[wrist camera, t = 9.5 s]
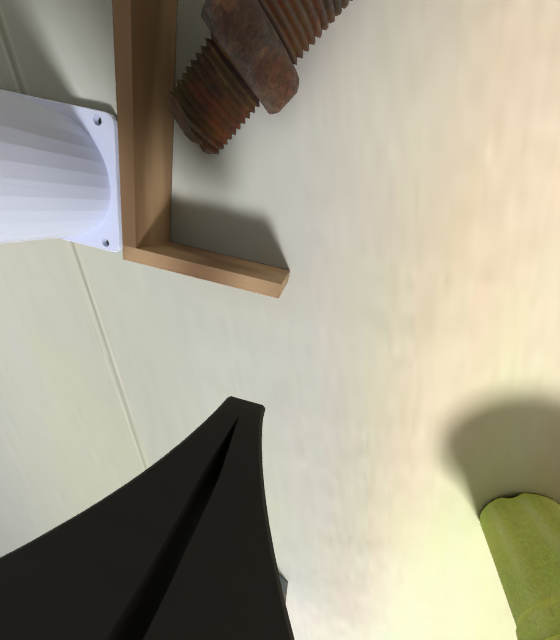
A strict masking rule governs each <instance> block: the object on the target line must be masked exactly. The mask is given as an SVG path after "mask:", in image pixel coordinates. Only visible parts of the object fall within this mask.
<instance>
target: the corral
mask: <svg viewBox="0 0 560 640" xmlns="http://www.w3.org/2000/svg"><path fill="white" fill-rule="evenodd" d="M112 5H113V29H114V53H115V77H116V101H117V125H118V149H119V172H120V196H121V220H122V244H123V259H124V260H128V261H132V262H136V263H140V264H144V265H148V266H152V267H156V268H160V269H164V270H168V271H172V272H176V273H180V274H184V275H188V276H192V277H196V278H200V279H204V280H208V281H212V282H216V283H220V284H224V285H228V286H232V287H236V288H240V289H244V290H248V291H251V292H255V293H259V294H263V295H267V296H271V297H275V298H279V297H280V295H281V293H282V291H283V289H284V288H285V286H286V284H287V282H288V277H289V273H290V271H289V270H285V269H281V268H276V267H272V266H268V265H264V264H260V263H256V262H252V261H248V260H244V259H240V258H235V257H231V256H227V255H223V254H219V253H215V252H211V251H207V250H203V249H198V248H194V247H190V246H186V245H182V244H178V243H174V242H170V221H171V188H172V155H173V122H174V116H173V114H172V113H171V111H170V109H169V107H168V99H170V94H169V91H171V92H174V90H173V86H175V57H176V24H177V0H112Z"/></svg>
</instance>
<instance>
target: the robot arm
mask: <svg viewBox="0 0 560 640" xmlns="http://www.w3.org/2000/svg"><path fill="white" fill-rule="evenodd" d="M100 117H101V120H102V123H101V125H100V124H99V118H100ZM50 238H60V239H64V240H68V241H72V242H76V243H80V244H84V245H88V246H92V247H96V248H100V249H104V250H108V251H112V252H118V251H121V250H122V248H123V244H122V220H121V196H120V172H119V149H118V125H117V120H116V118H115V117H114V116H113V115H112V114H110V113H107V112H105V111H100V110H95V109H91V108H86V107H81V106H77V105H72V104H67V103H62V102H58V101H53V100H48V99H43V98H39V97H34V96H29V95H24V94H20V93H15V92H10V91H6V90H1V89H0V244H1V243H11V242H21V241H30V240H40V239H50ZM107 240H108V241H109V245H108V244H107ZM264 412H265V407H264V406H263V405H260V404H257V403H253V402H250V401H246V400H242V399H239V398H235V397H232V396H230V397H228V398H227V399H226V400H225V401H224V402H223V403H222V405H221V406H220V407H219V408H218V409H217V410H216V411H215V412H214V413H213V414H212V415H211V416H210V417H209V418H208V419H207V420H206V421H205V422H204V423H202V424H201V425H200V426H199V427H198V428H197V429H196V430H195V431H194V432H193V433H191V434H190V435H189V436H188V437H187V438H186V439H185V440H183V441H182V442H181V443H180V444H179V445H177V446H176V447H175V448H174V449H172V450H171V451H170V452H169V453H168V454H166V455H165V456H164V457H163V458H161V459H160V460H159V461H157V462H156V463H155V464H153V465H152V466H151V467H149V468H148V469H147V470H145V471H144V472H142V473H141V474H140V475H138V476H137V477H135V478H134V479H133V480H131V481H130V482H128V483H127V484H125V485H124V486H122V487H121V488H119V489H118V490H116V491H115V492H113V493H112V494H110V495H109V496H107V497H105V498H104V499H102V500H101V501H99V502H98V503H96V504H94V505H93V506H91V507H90V508H88V509H86V510H85V511H83V512H81V513H80V514H78V515H76V516H74V517H73V518H71V519H69V520H68V521H66V522H64V523H62V524H61V525H59V526H57V527H55V528H54V529H52V530H50V531H49V532H47V533H45V534H43V535H42V536H40V537H38V538H36V539H35V540H33V541H31V542H29V543H27V544H25V545H24V546H22V547H20V548H18V549H16V550H14V551H12V552H10V553H8V554H6V555H5V556H3V557H1V558H0V640H294V636H293V632H292V628H291V624H290V620H289V616H288V612H287V608H286V604H285V599H284V595H283V590H282V586H281V581H280V577H279V572H278V568H277V563H276V558H275V554H274V548H273V543H272V537H271V532H270V526H269V519H268V513H267V506H266V498H265V490H264V479H263V467H262V423H263V416H264Z"/></svg>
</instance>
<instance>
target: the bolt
mask: <svg viewBox="0 0 560 640" xmlns="http://www.w3.org/2000/svg"><path fill="white" fill-rule="evenodd" d="M351 1H353V0H351ZM348 4H349V0H207V1H206V3H205V5H204V7H203V9H202V13H201V16H202V18H203V20H204V21H205V23H206V24H207V26H208V27H209V29H210V30H211V36H212V39H206V44H207V47H206V46H201V50H202V54H201V53H196V57H197V60H191V63H192V67H186V69H187V72H188V74H184V73H182V78H183V80H178V79H177V82H178V86H179V87H178V86H173V90H174V92H171V91H169V94H170V99H168V107H169V109H170V111H171V113H172V114H173V116H174V118H175V119H176V121H177V123H178V124H179V126H180V127H181V129H182V130H183V132H184V134H185V135H186V136H187V137H188V138H189V139H190V140H191V141H193V142H195V143H197V144H199V145H200V147H201V148H202V150H203V151H204V152H206V153H208V154H210V153H213V154H219V149H223V148H224V146H223V144H226V145H227V139H229V140H230V139H232V134H235V135H236V128H237V129H240V123H243V124H245V117H246V118H249V119H250V112H253V113H255V106H257V107H259V100H260V102H261V103H262V105H263V106H264V107H265V109H266V110H267V111H268V113H269V114H274V113H278V112H279V111H280V110H281V109H282V108H283V107H284V106H285V105H286V104H287V103H288V102H289V101H290V99H291V98H292V97H293V96H294V95H295V94H296V93H297V90H298V85H299V77H298V75H297V72H296V70H295V68H294V65H293V64H296V65H297V57H300V58H303V50H304V51H309V44H312V45H314V44H315V36H316V37H319V38H320V37H321V35H322V29H323V30H327V28H328V22H329V23H332V22H334V21H335V16H338V15H340V14H341V12H342V8H344V9H345V8H346V7H347V6H348Z"/></svg>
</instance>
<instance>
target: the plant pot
mask: <svg viewBox="0 0 560 640" xmlns="http://www.w3.org/2000/svg"><path fill="white" fill-rule="evenodd" d="M480 523H481V527H482V530H483V532H484V535H485V538H486V541H487V543H488V546H489V549H490V552H491V555H492V557H493V560H494V563H495V566H496V569H497V572H498V575H499V577H500V580H501V583H502V586H503V589H504V592H505V595H506V598H507V600H508V603H509V606H510V609H511V612H512V615H513V618H514V620H515V623H516V626H517V628H516V634H517V639H518V640H560V505H559V504H558V503H557V502H555V501H554V500H552V499H550V498H548V497H544V496H541V495H536V494H528V493H522V494H520V495H519V496H517V497H514V498H498V499H495V500H494V501H492V502H490V503H489V504H488V505H487V506H486V507H485V508H484V509H483V510H482V512H481V514H480Z"/></svg>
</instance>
